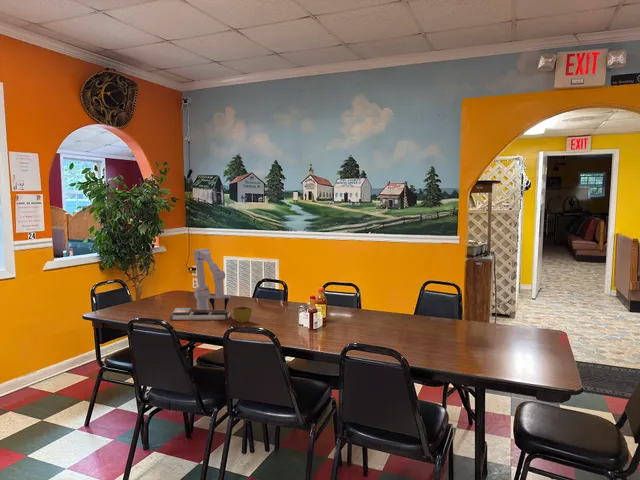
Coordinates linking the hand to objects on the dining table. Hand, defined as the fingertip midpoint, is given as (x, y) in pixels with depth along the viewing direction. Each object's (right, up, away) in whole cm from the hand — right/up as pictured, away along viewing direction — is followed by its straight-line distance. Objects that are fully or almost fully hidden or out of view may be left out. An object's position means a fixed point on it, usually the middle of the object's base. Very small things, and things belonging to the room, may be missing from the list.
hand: (219, 309), depth 297 cm
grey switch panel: (-12, -5, -2) cm, 13 cm away
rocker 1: (-12, -1, -2) cm, 12 cm away
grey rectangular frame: (-24, -1, -3) cm, 24 cm away
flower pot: (+17, -6, -12) cm, 22 cm away
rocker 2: (0, -1, -2) cm, 2 cm away
